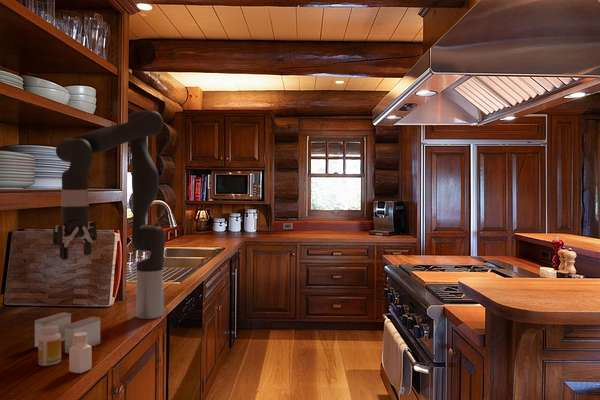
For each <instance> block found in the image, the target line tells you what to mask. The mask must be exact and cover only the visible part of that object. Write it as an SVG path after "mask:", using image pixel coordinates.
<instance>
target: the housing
mask: <svg viewBox="0 0 600 400" xmlns="http://www.w3.org/2000/svg"><path fill="white" fill-rule="evenodd" d="M71 318H72V313H71V312H59V313H56V314H53V315H52V314H51V315H49V316H45V317H42V318H38V319H35V320H34V347H35V348H38V339H39V336H40V335H42V333H41V328H42V327H43V326H46V325H58V331H57V332H58V333H60V334H61V342H64V353H65V354H69V349H70V348H71V347H73V346H74V334H76V333H80V332H86V333H87V345H90V346H91V347H95V346H98V345H99V344H101V317H98V316H90V317H87V318H84V319H81V320H77V321H74V322H72V319H71Z"/></svg>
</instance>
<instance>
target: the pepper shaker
mask: <svg viewBox="0 0 600 400" xmlns="http://www.w3.org/2000/svg"><path fill="white" fill-rule="evenodd" d="M92 347H93V346H92ZM92 347H91V346H90V345H87V333H86V332H80V333H76V334H74V346H73V347H71V348H70V349H69V353H68V355H69V356H68V366H69V367H68V370H69V372H70V373H74V374H79V373H80V374H83V373H85V372H87V371H89V370H91V369H92Z"/></svg>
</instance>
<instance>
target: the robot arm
mask: <svg viewBox="0 0 600 400" xmlns="http://www.w3.org/2000/svg"><path fill="white" fill-rule="evenodd" d="M163 129H164V119H163V117H162V115H161V114H160V113H159V112H157V111H156V110H153V109H152V110H151V109H147V110H146V109H144V110H134V111H132V112H131V113H130V114H129V115H128V117H127V122H123V123H118V124H113V125H109V126H105V127H100V128H98V129H95V130H92V131H90V132H88V133H84V134H79V135H76V136H71V137H67V138H65V139H62V140H60V141H59V142H58V144H57V145H56V146H55V154H56V156H57V158H59V160H61V161H62V162H66V163H69V167H68V169H66V170H64V171H63V172H62V174H61V195H60V197H61V200H60V201H61V205H60V207H61V211H60V212H61V220H62V222H63V223H62V225H59V224H57V225H53V227H52V228H53V229H52V231H53V232H52V234H53V235H52V245H53V246H55V247H58V248H59V258H60V259H61V260H64V261H66V260H67V261H68V260H69V247H68V246H69V245H70V243H71V242H72V241H73V239H77V238H80V239H81V240H82V241H83V255H85V256H90V255H92V250H93V249H92V243H93V242H94V241H97V239H98V237H97V232H98V231H97V222H95V221H88V220H89V219H90V214H89V213H90V207H89V205H90V204H89V203H90V198H89V189H88V186H89V185H88V174H89V172H90V168H91V164H92V160H93V155H94V154H101V153H103V152H106V151H108V150H110V149H113V148H116V147H118V146H120V145H123V144H126V143H128V142H129V145H130V155H131V157H130V158H131V185H132V186H131V189H132V190H131V191H132V222H131V223H132V224H131V243H132V244H131V245H132V248H133V249H134V250H135V251H138V252H150V254H149V257H147V258H146V259H142V260H140V261H138V262H137V263H136V299H135V301H136V309H135V310H136V311H135V312H136V318H137V319H141V320H152V319H153V320H154V319H159V318H160V317H162V316H163V314H165V288H164V285H163V284H164V282H163V281H164V277H163V276H164V271H163V268H164V262H165V243H166V234H165V230H164V228H163V227H161V226H156V225H155V226H154V225H153V226H151V225H150V226H148V225H146V219H147V214H148V211H149V209H150V207H151V206H152V204H153V202H154V201H155V199H156V198H157V195H158V193H159V190H160V189H159V187H160V186H159V184H160V182H159V179H160V178H159V171H158V169H157V166H156V165H155V162H154V160H153V159H152V157H151V155H150V153H149V149H148V137H154V136H157V135H159V134H160V133H161V132H162V131H163Z"/></svg>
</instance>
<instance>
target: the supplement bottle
mask: <svg viewBox="0 0 600 400" xmlns="http://www.w3.org/2000/svg"><path fill="white" fill-rule="evenodd" d="M57 331H58V325H46V326H43V327H42V328H41V333H42V335H40V336H39V339H38V347H37V350H38V353H37V355H38V356H37V357H38V365H40V366H43V367H46V366H47V367H48V366H52V365H56V364H59V363H60V362H61V361H62V341H61V334H60V333H58V332H57Z"/></svg>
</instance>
